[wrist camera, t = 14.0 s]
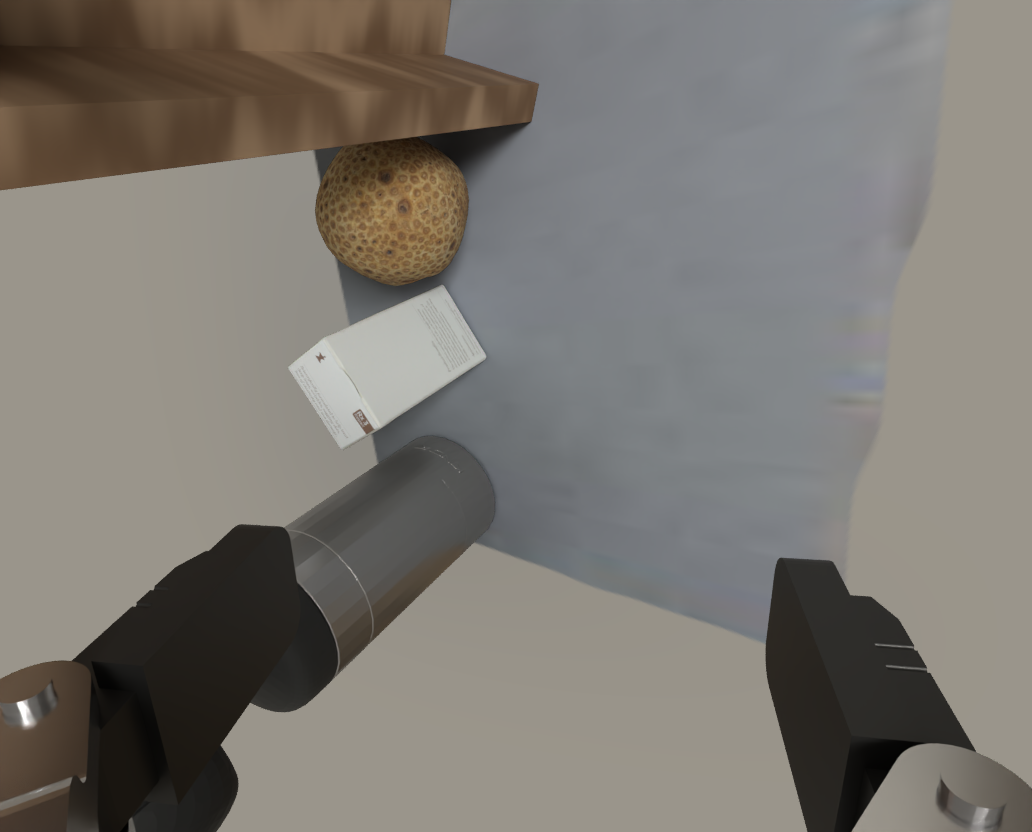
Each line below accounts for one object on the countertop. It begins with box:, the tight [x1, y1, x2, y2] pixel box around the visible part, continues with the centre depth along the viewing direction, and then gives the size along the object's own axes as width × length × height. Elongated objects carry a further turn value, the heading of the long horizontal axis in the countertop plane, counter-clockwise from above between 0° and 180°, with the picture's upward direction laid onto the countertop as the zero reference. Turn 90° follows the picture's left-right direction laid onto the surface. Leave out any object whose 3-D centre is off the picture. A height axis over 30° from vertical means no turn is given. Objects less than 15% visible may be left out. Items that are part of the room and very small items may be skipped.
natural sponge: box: [315, 137, 469, 286], centre depth 41 cm, size 9×9×10 cm
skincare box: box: [288, 285, 486, 450], centre depth 44 cm, size 6×4×12 cm
